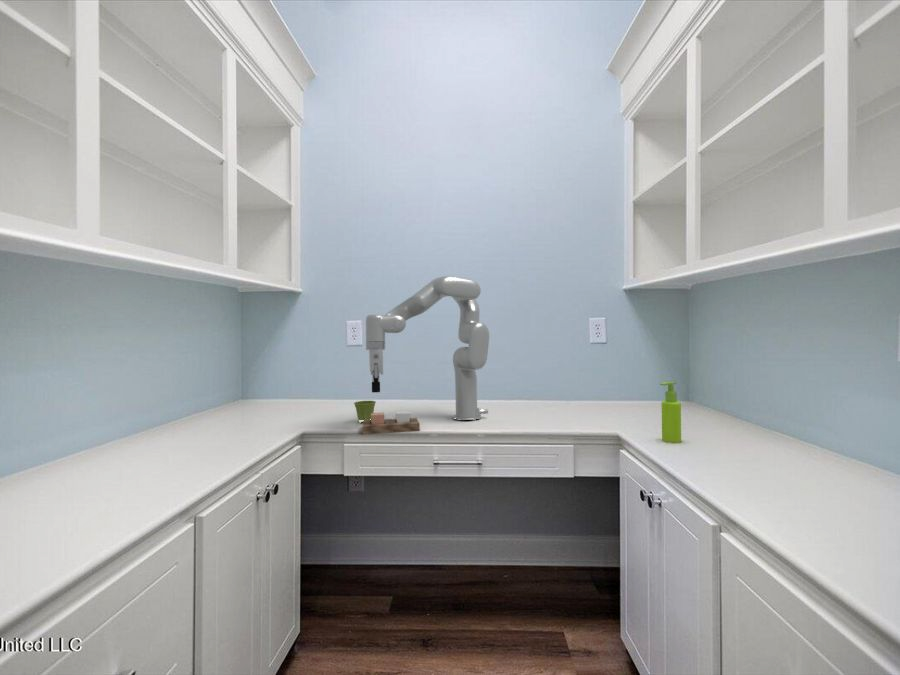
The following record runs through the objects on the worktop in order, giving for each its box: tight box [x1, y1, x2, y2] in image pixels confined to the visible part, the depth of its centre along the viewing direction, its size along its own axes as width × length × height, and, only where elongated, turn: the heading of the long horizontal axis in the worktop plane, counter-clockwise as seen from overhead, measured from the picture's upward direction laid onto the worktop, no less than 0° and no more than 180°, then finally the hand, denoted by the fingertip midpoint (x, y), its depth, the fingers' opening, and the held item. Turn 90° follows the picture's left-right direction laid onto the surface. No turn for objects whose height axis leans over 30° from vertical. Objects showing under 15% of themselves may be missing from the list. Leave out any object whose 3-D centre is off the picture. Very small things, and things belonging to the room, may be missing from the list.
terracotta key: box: [371, 412, 385, 424], centre depth 182 cm, size 5×5×4 cm
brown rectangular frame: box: [361, 417, 421, 435], centre depth 183 cm, size 22×12×3 cm, turn 100°
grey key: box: [395, 410, 411, 423], centre depth 184 cm, size 5×5×4 cm
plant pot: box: [353, 400, 377, 420], centre depth 199 cm, size 9×9×9 cm
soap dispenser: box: [659, 381, 682, 444], centre depth 155 cm, size 6×7×20 cm
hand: (375, 392), depth 182 cm, fingers closed
